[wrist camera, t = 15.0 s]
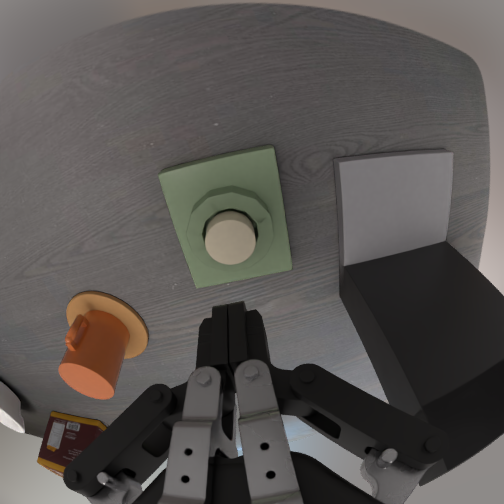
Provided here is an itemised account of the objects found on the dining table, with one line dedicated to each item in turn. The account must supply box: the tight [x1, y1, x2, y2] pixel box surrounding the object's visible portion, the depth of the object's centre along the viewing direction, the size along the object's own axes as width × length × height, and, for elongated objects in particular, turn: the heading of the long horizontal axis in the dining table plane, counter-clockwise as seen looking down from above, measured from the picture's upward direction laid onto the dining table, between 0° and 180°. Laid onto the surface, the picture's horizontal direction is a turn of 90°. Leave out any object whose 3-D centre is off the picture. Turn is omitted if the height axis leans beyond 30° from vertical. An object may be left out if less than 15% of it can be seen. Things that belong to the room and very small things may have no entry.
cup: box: [59, 310, 130, 399], centre depth 25 cm, size 8×6×8 cm
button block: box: [158, 145, 293, 288], centre depth 22 cm, size 11×9×4 cm
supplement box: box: [37, 411, 107, 477], centre depth 39 cm, size 10×15×16 cm
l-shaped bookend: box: [333, 149, 504, 486], centre depth 16 cm, size 15×13×22 cm
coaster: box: [67, 291, 148, 359], centre depth 29 cm, size 11×11×1 cm
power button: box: [205, 211, 256, 265], centre depth 20 cm, size 4×4×2 cm
